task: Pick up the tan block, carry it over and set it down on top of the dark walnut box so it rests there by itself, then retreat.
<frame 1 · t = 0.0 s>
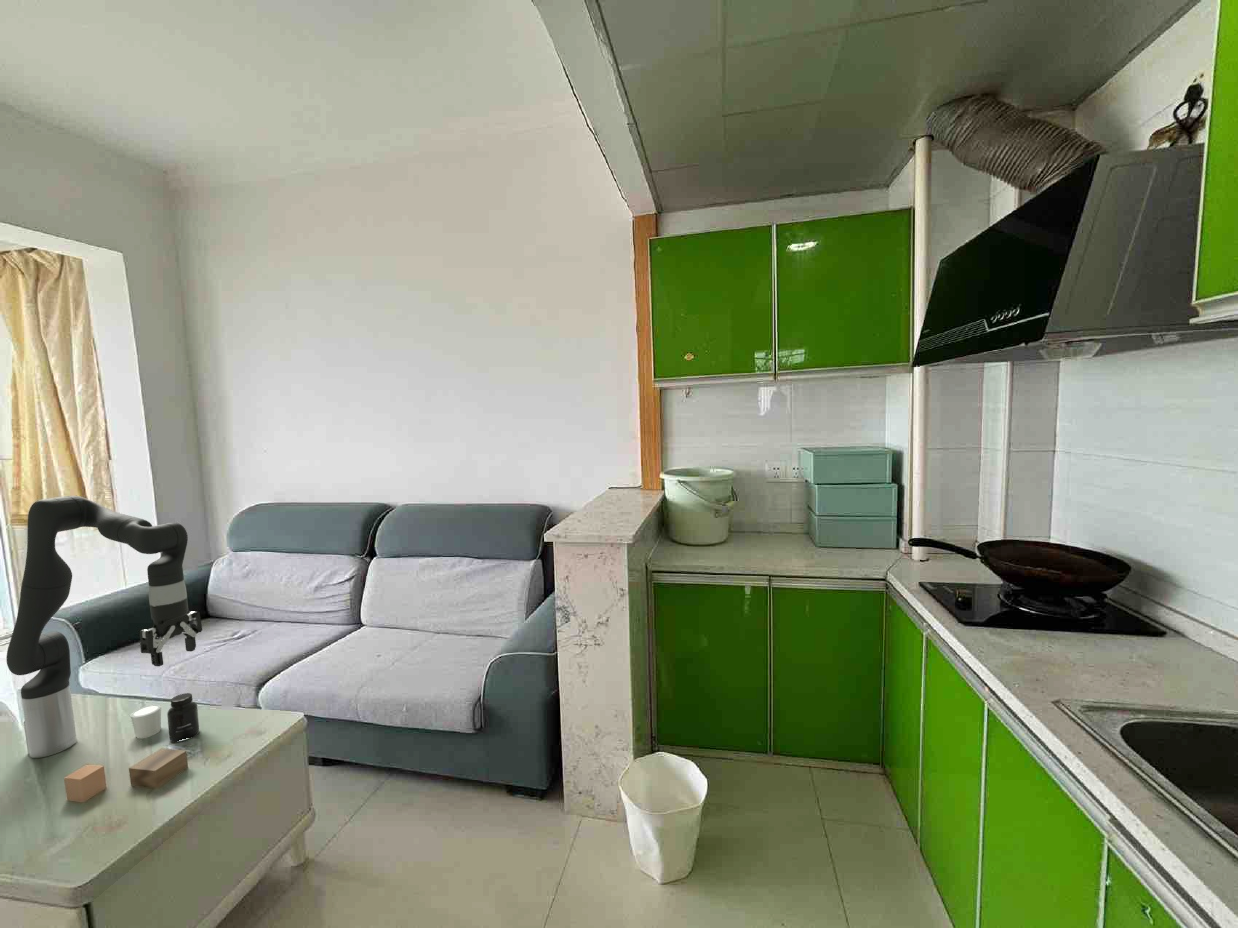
hand: (175, 658, 139), 29 cm above the table, fingers open, 8 cm apart
supplement bottle: (185, 736, 154), on the table
walnut box: (160, 777, 136), on the table
shot glass: (148, 733, 156), on the table
tan block: (87, 794, 130), on the table
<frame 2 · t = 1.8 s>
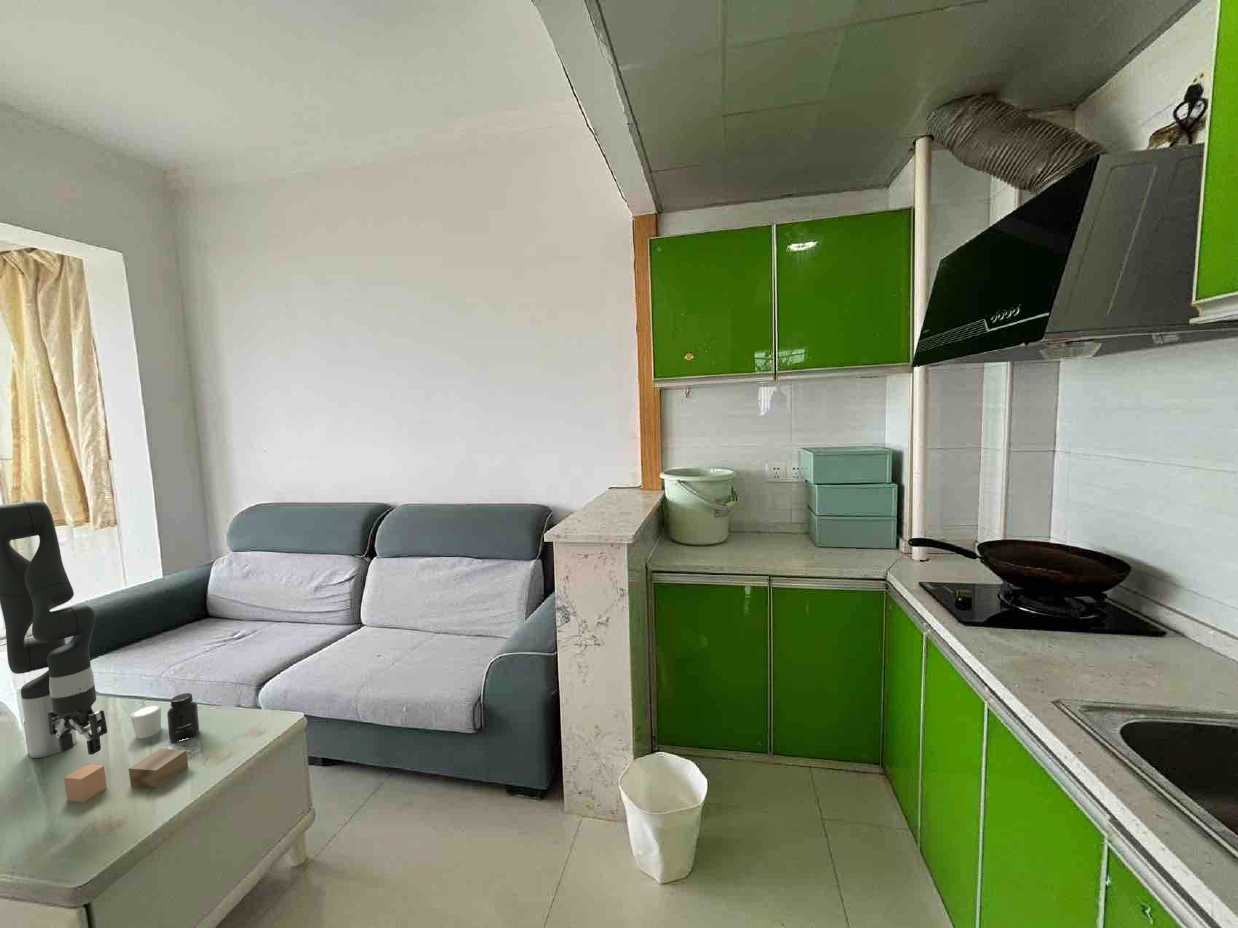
hand: (80, 751, 129), 11 cm above the table, fingers open, 8 cm apart
nothing on the table moved.
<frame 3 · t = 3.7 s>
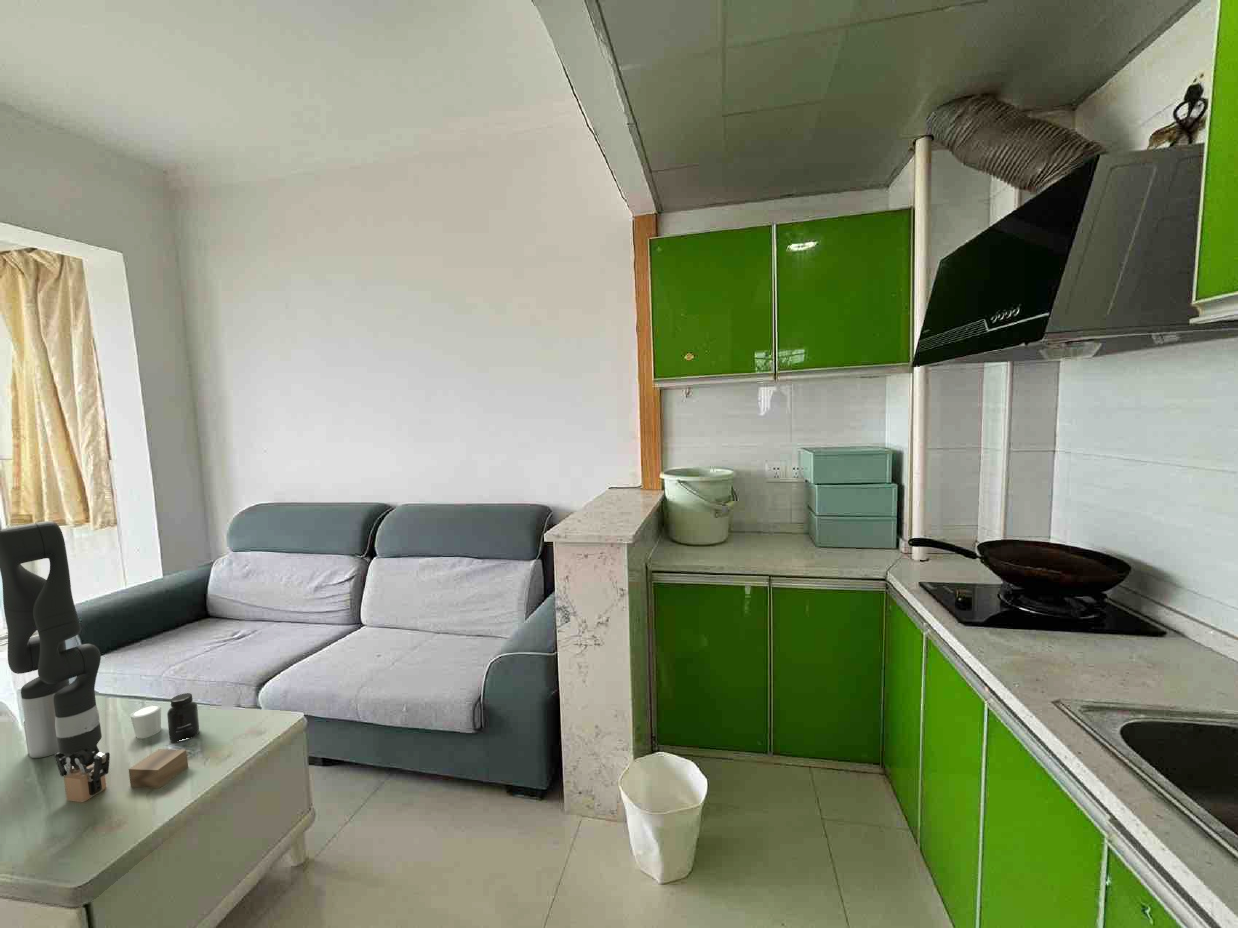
hand: (86, 791, 130), 1 cm above the table, fingers closed on tan block, 5 cm apart
tan block: (86, 793, 130), on the table, touching gripper
everything else where it was.
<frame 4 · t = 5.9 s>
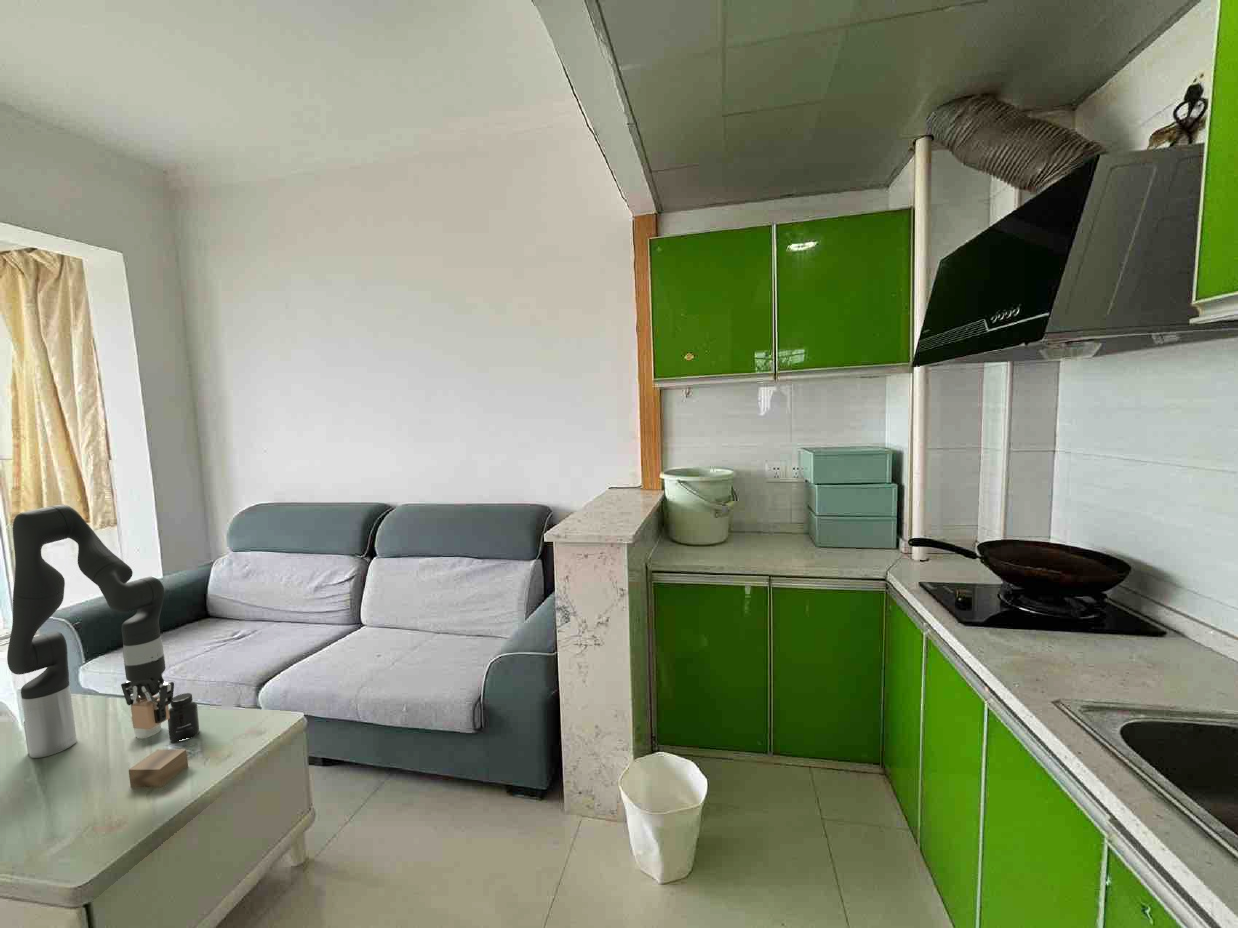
hand: (151, 720, 134), 16 cm above the table, fingers closed on tan block, 5 cm apart
tan block: (151, 723, 134), point 15 cm above the table, touching gripper
everything else where it was.
when the fingers open (7 cm above the table, at t = 8.0 s): tan block drops 2 cm, resting on walnut box.
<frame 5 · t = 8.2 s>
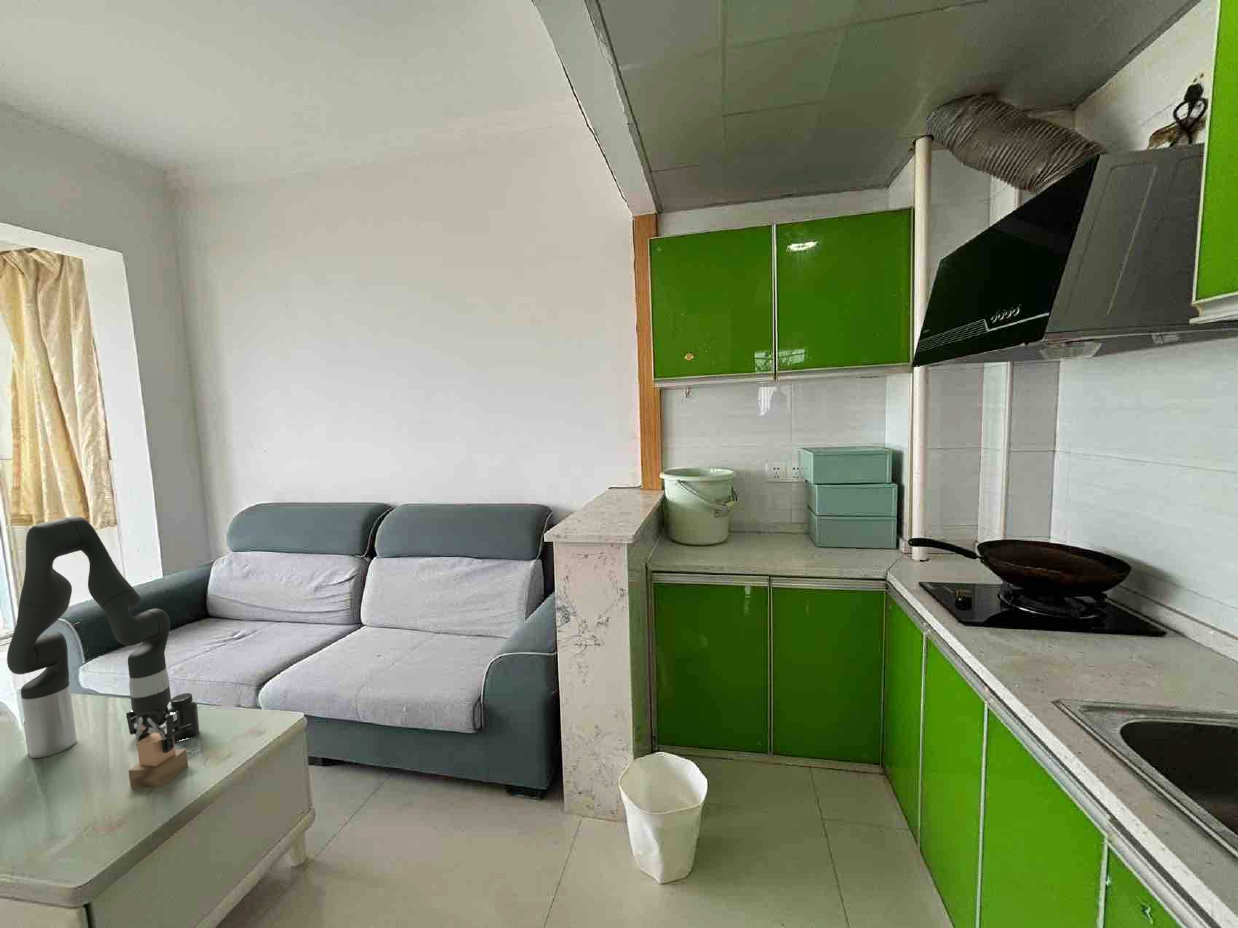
hand: (157, 749, 136), 7 cm above the table, fingers open, 6 cm apart
walnut box: (160, 777, 136), on the table, touching tan block
tan block: (157, 759, 136), point 5 cm above the table, touching walnut box
everything else where it was.
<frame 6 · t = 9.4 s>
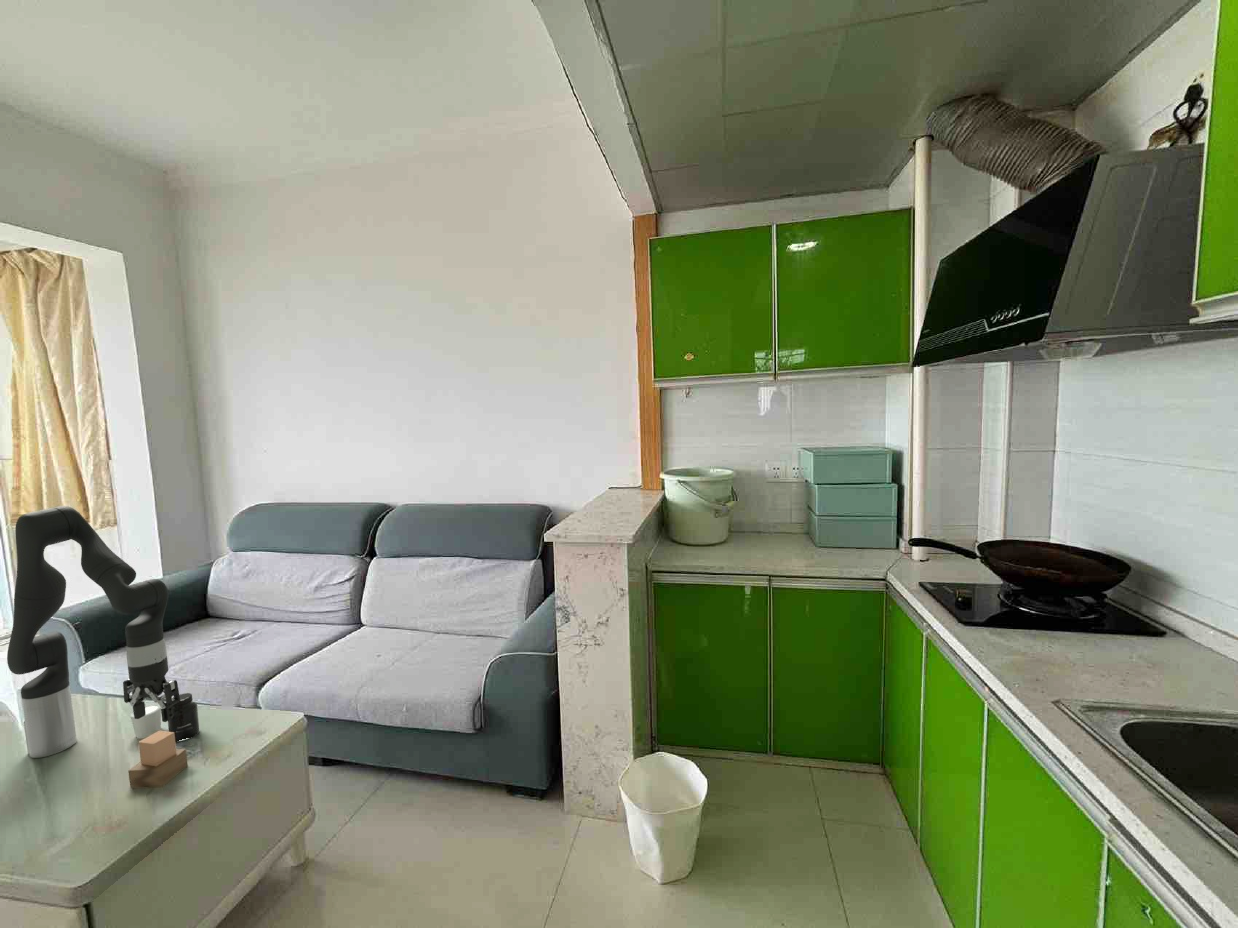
hand: (154, 718, 135), 16 cm above the table, fingers open, 8 cm apart
nothing on the table moved.
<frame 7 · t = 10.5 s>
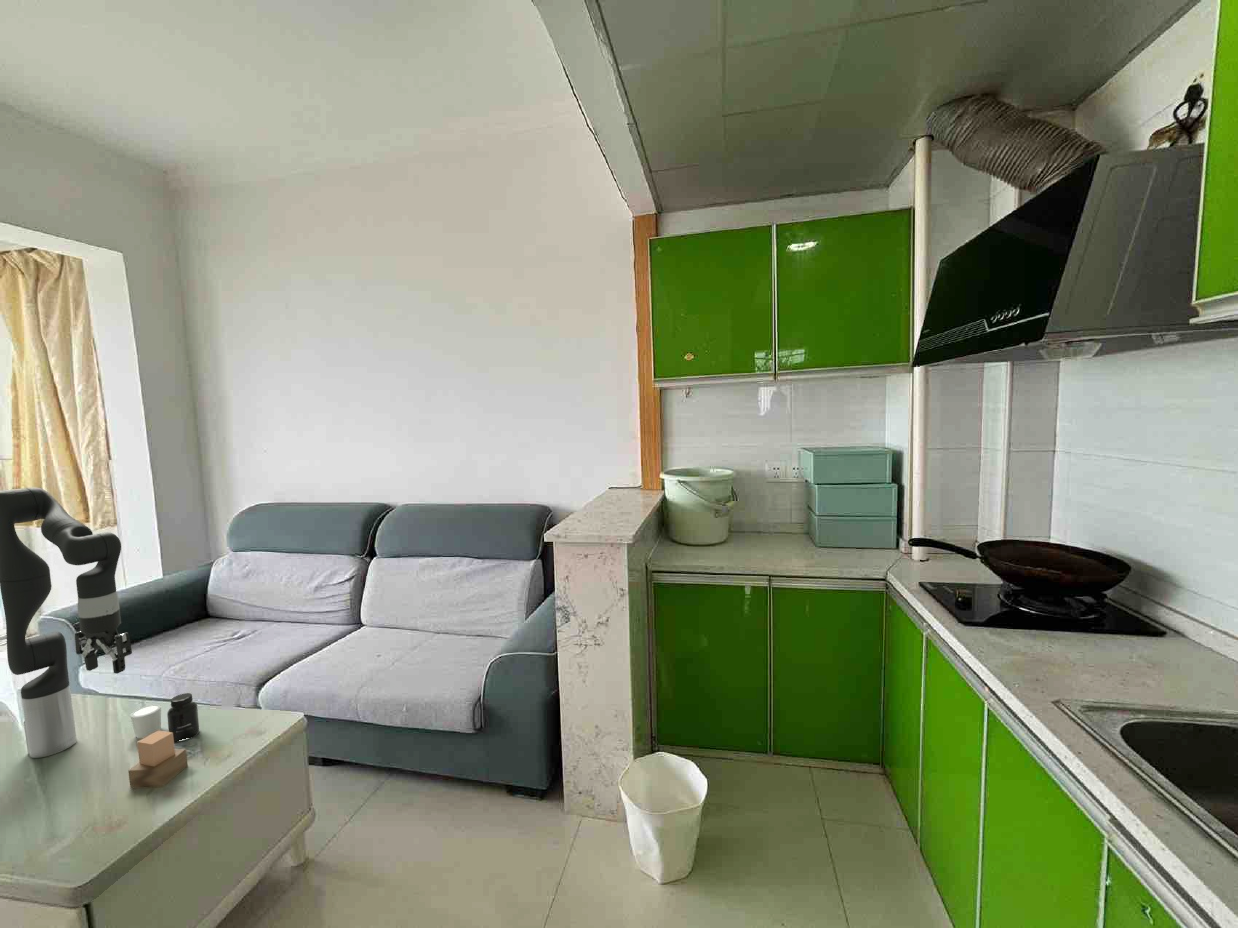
hand: (106, 670, 136), 28 cm above the table, fingers open, 8 cm apart
nothing on the table moved.
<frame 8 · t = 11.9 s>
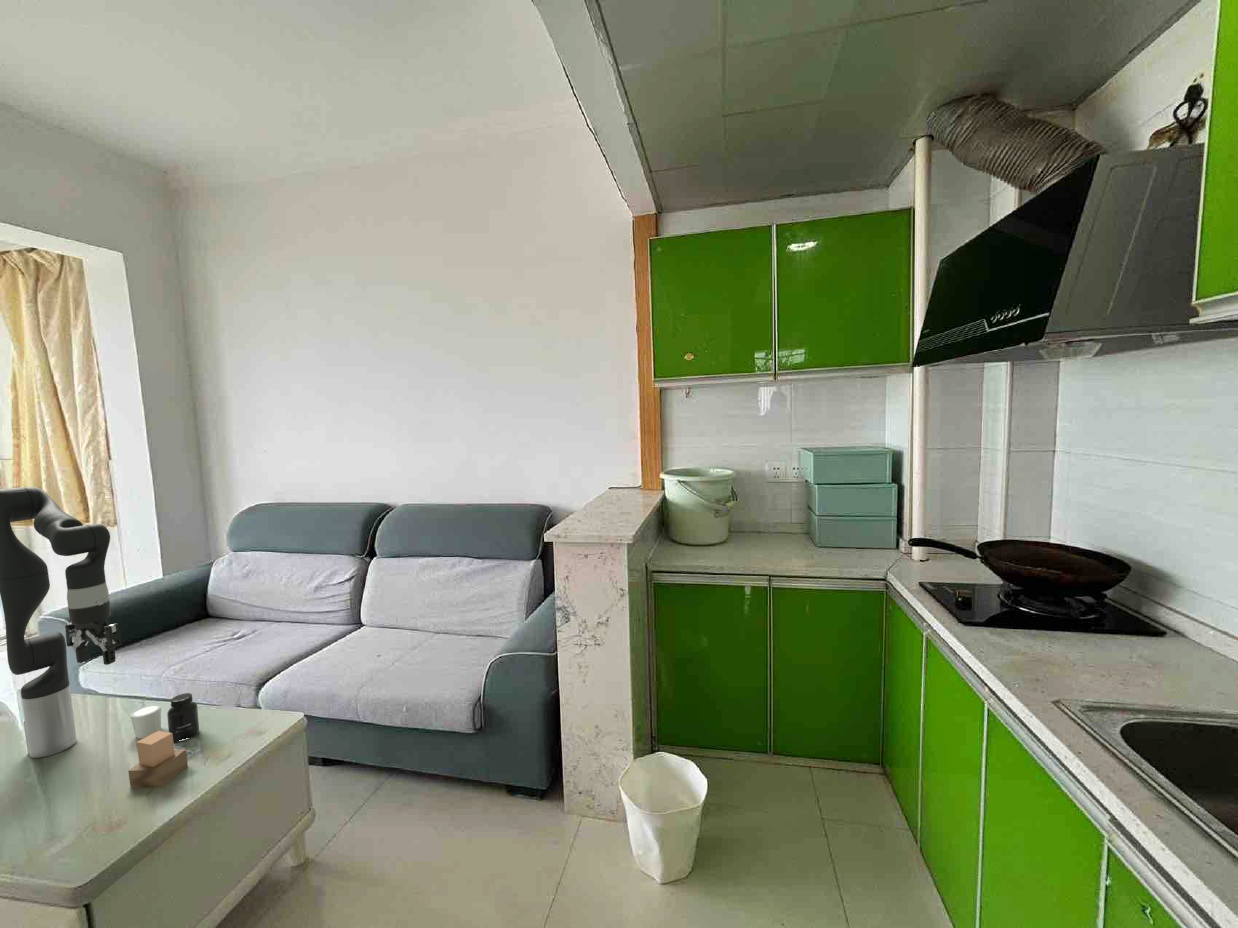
hand: (96, 662, 136), 30 cm above the table, fingers open, 8 cm apart
nothing on the table moved.
at the end: tan block 0.4 cm off-centre on the walnut box, point 5.0 cm above the walnut box's base; tan block tilted 0°; the gripper is holding nothing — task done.
